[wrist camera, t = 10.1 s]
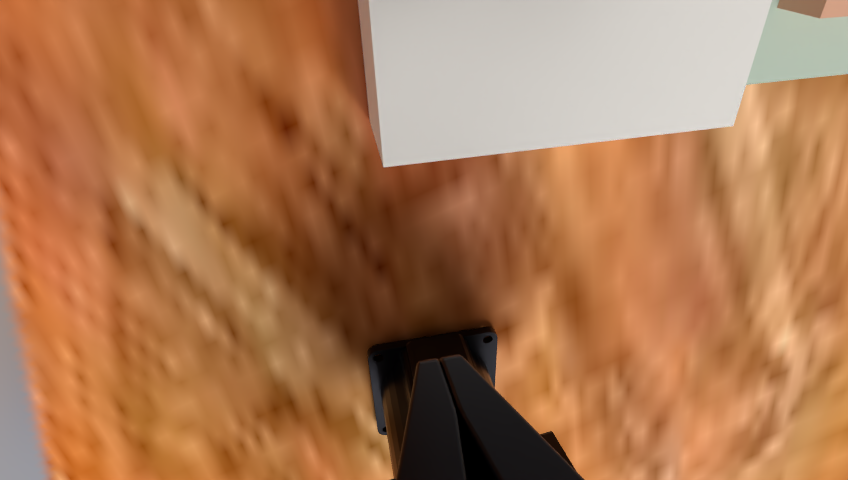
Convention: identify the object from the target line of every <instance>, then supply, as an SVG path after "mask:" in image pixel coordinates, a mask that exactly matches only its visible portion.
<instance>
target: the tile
mask: <svg viewBox="0 0 848 480" xmlns="http://www.w3.org/2000/svg"><path fill="white" fill-rule="evenodd" d="M777 8H780V9H784V10H788V11H792V12H796V13H800V14H804V15H808V16H812V17H816V18H833V17H846V16H848V0H779V3H778V6H777Z"/></svg>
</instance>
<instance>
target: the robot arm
mask: <svg viewBox="0 0 848 480" xmlns="http://www.w3.org/2000/svg"><path fill="white" fill-rule="evenodd" d="M487 336H488V337H487ZM485 337H487V338H485ZM378 354H381V355H379V356H375V355H378ZM367 355H368V362H369V369H370V377H371V384H372V391H373V399H374V406H375V413H376V420H377V428H378V432H379V433H380V434H382V435H387V437H388V443H389V449H390V456H391V462H392V469H393V475H394V479H391V480H584V479H583V478H582V477H581V476H580V475H579V474H578V473H577V472H576V470H575V468H574V467H573V465H572V463H571V462H570V460H569V458H568V457H567V455H566V453H565V452H564V450H563V448H562V447H561V445H560V444H559V442H558V440H557V439H556V437H555V435H554V434H553V432H552V431H550V432H547V433H543V434H539V433H538V432H537V431H536V430H535V429H534V428H533V427H532V426H531V425H530V424H529V423H528V422H527V421H526V420H525V419H524V418H523V417H522V416H521V415H520V414H519V413H518V412H517V411H516V410H515V409H514V408H513V407H512V406H511V405H510V404H509V403H508V402H507V401H506V400H505V399H504V398H503V397H502V396H501V395H500V394H499V393H498V392H497V391H496V390H495V372H496V355H497V335H496V332H495V330H494V329H493V328H491V327H483V328H476V329H470V330H464V331H458V332H452V333H446V334H440V335H434V336H428V337H422V338H416V339H410V340H404V341H398V342H392V343H386V344H380V345H375V346H372V347H371V348H370V349H369V350H368V353H367Z"/></svg>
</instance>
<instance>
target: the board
mask: <svg viewBox="0 0 848 480" xmlns="http://www.w3.org/2000/svg"><path fill="white" fill-rule="evenodd" d="M771 2H772V0H358V8H359V18H360V28H361V38H362V48H363V58H364V68H365V78H366V89H367V99H368V109H369V119H370V124H371V127H372V130H373V134H374V137H375V141H376V144H377V147H378V151H379V154H380V158H381V161H382V164H383V167H391V166H400V165H408V164H417V163H425V162H434V161H442V160H450V159H459V158H467V157H476V156H484V155H493V154H501V153H509V152H518V151H526V150H535V149H543V148H552V147H560V146H569V145H577V144H585V143H594V142H602V141H611V140H619V139H628V138H636V137H645V136H653V135H661V134H670V133H678V132H687V131H695V130H704V129H712V128H721V127H729V126H733V125H734V122H735V119H736V115H737V112H738V109H739V106H740V103H741V99H742V96H743V93H744V90H745V86H746V83H747V80H748V77H749V73H750V70H751V67H752V64H753V61H754V57H755V54H756V51H757V48H758V44H759V41H760V38H761V35H762V31H763V28H764V25H765V22H766V18H767V15H768V12H769V9H770V6H771Z"/></svg>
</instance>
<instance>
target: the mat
mask: <svg viewBox="0 0 848 480" xmlns="http://www.w3.org/2000/svg"><path fill="white" fill-rule="evenodd" d="M778 3H779V0H772V2H771V6H770V9H769V12H768V15H767V18H766V22H765V25H764V28H763V31H762V35H761V38H760V41H759V44H758V48H757V51H756V54H755V57H754V61H753V64H752V67H751V70H750V73H749V77H748V80H747V83H746V85H748V84H758V83H767V82H776V81H786V80H795V79H804V78H814V77H823V76H832V75H842V74H848V16H846V17H833V18H816V17H812V16H808V15H804V14H800V13H796V12H792V11H788V10H784V9H780V8H777V6H778Z"/></svg>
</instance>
